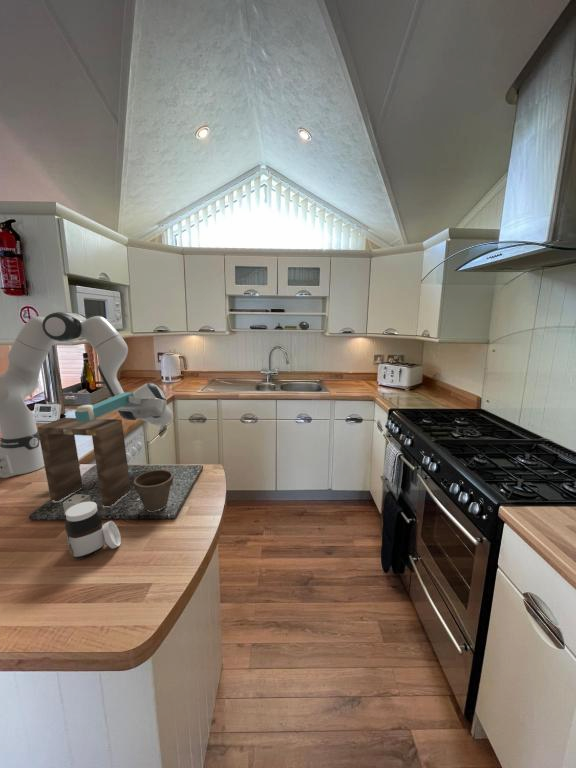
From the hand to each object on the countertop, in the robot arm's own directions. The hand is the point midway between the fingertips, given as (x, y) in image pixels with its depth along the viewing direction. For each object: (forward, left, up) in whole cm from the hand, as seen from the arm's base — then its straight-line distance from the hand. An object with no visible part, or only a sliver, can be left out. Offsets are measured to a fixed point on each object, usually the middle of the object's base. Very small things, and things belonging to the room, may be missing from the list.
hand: (121, 398), depth 114 cm
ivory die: (-5, -19, -32) cm, 38 cm away
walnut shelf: (-8, -10, -32) cm, 34 cm away
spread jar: (+12, -32, -32) cm, 47 cm away
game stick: (0, -7, -2) cm, 8 cm away
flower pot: (+17, -12, -32) cm, 38 cm away
